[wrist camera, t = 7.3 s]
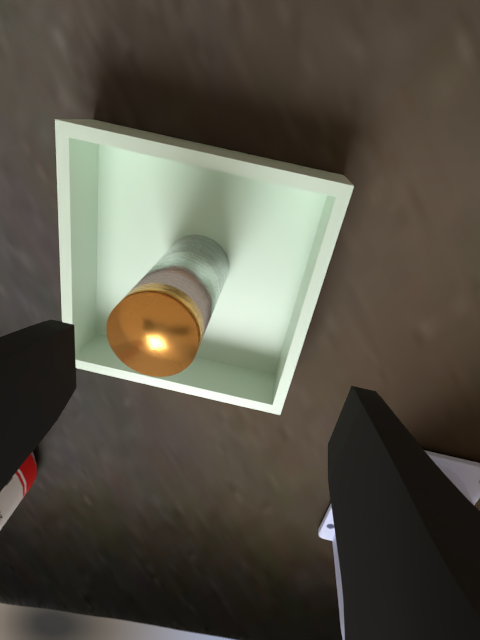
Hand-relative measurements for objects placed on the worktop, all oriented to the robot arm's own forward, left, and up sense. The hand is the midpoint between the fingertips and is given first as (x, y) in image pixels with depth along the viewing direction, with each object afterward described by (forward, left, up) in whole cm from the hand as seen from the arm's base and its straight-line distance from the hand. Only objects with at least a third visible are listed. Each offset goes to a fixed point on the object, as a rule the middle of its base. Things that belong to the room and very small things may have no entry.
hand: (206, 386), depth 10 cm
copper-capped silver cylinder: (0, +2, -9) cm, 10 cm away
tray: (-1, +2, -10) cm, 10 cm away
